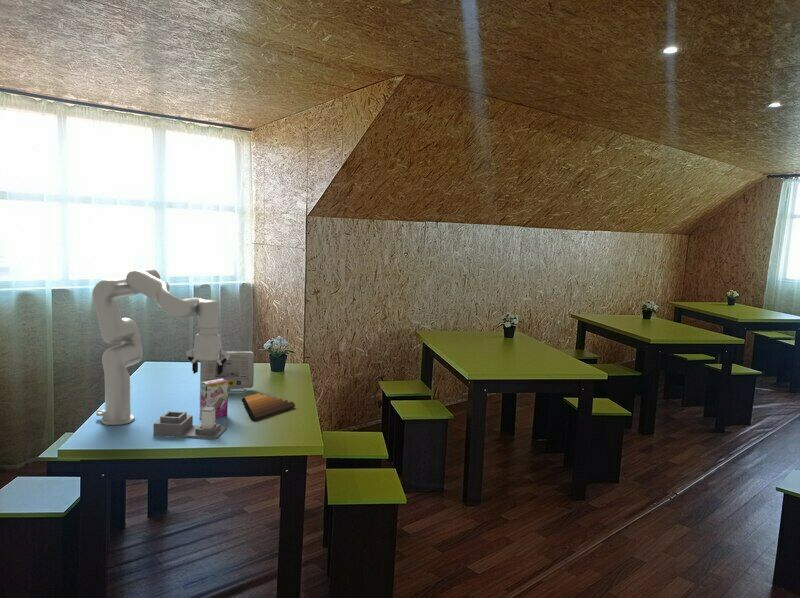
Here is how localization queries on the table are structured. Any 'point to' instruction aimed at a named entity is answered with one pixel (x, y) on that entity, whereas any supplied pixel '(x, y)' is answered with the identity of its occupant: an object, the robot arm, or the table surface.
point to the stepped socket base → (183, 427)
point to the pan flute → (264, 406)
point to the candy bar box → (214, 396)
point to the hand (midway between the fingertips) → (207, 373)
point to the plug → (208, 418)
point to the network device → (231, 370)
